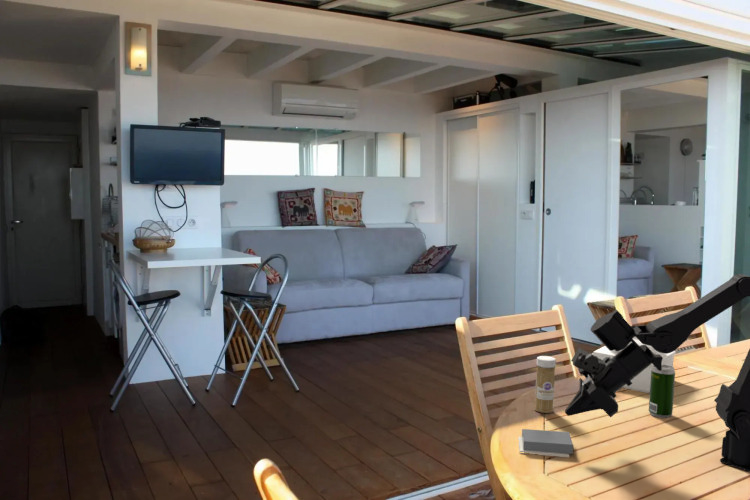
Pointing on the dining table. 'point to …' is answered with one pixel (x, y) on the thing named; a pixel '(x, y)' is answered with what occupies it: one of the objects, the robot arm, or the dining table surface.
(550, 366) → the sprinkles bottle
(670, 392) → the beer can
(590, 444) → the dining table surface
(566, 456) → the plate
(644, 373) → the butter dish
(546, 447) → the slate tile
